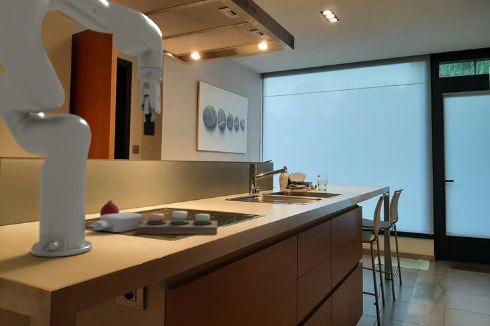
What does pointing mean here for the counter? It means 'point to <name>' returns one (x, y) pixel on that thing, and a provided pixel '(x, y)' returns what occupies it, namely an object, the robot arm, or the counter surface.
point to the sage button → (202, 217)
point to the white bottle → (118, 222)
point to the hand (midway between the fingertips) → (149, 135)
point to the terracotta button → (156, 217)
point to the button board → (177, 227)
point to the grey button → (179, 214)
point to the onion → (109, 209)
